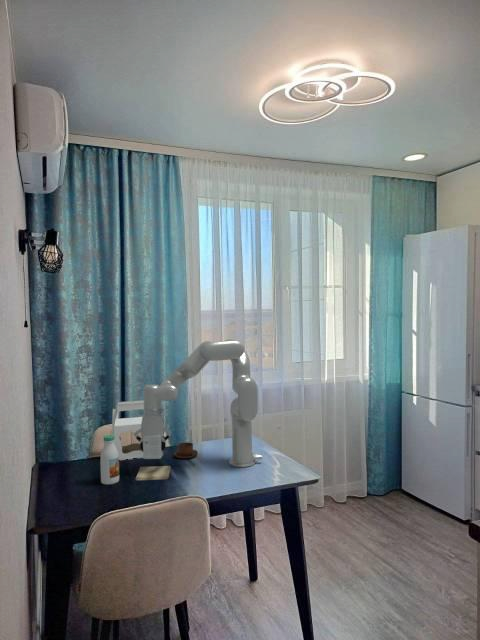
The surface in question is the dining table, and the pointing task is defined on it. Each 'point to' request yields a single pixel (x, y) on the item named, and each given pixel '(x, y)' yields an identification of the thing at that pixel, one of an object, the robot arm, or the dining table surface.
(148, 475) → the oak board
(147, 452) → the small box
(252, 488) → the dining table surface
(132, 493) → the dining table surface
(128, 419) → the gable box
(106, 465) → the milk bottle
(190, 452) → the cup and saucer
